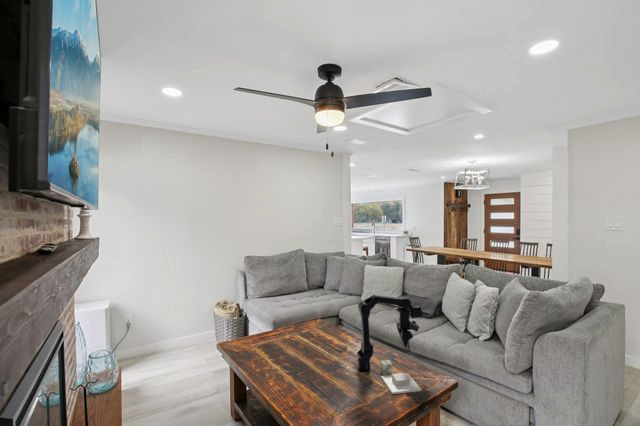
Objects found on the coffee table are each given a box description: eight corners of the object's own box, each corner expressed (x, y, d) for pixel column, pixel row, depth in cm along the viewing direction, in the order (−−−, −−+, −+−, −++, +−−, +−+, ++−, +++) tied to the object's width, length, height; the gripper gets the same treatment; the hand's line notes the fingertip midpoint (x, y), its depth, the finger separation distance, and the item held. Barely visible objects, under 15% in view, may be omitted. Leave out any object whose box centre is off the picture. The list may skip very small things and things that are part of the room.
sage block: (383, 375, 181) (383, 364, 181) (380, 370, 186) (380, 360, 186) (392, 374, 182) (392, 364, 182) (388, 370, 187) (388, 359, 187)
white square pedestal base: (392, 394, 162) (392, 386, 162) (381, 377, 178) (381, 370, 178) (421, 390, 165) (421, 383, 165) (407, 375, 181) (407, 368, 181)
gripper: (421, 324, 181) (421, 351, 181) (414, 313, 199) (414, 338, 199) (402, 323, 181) (401, 350, 182) (396, 313, 200) (396, 337, 200)
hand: (404, 343), depth 191 cm, fingers open, 9 cm apart
